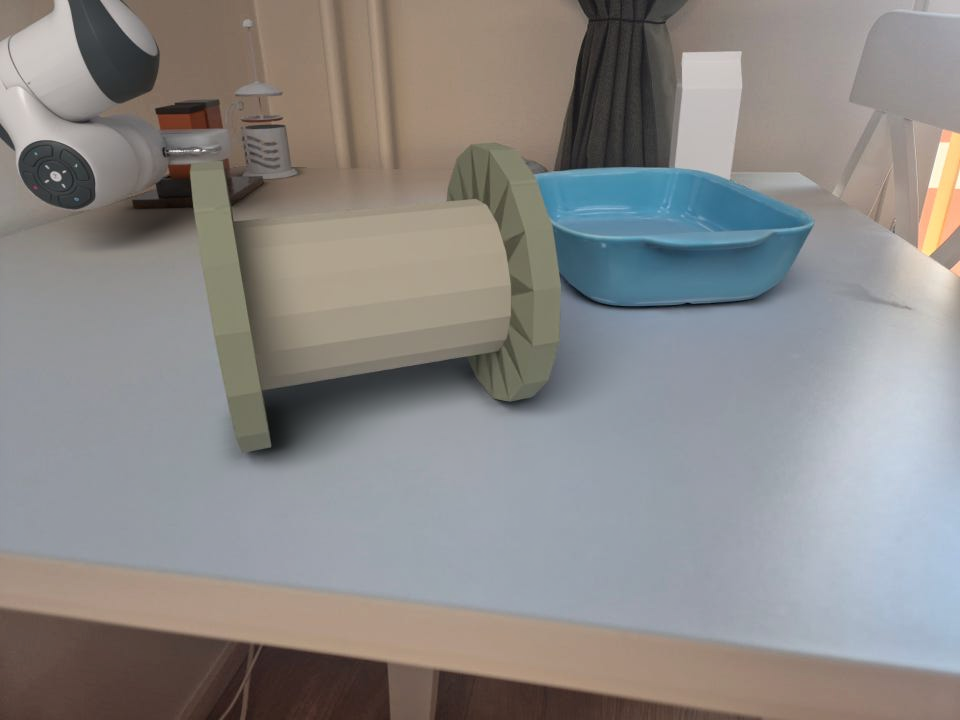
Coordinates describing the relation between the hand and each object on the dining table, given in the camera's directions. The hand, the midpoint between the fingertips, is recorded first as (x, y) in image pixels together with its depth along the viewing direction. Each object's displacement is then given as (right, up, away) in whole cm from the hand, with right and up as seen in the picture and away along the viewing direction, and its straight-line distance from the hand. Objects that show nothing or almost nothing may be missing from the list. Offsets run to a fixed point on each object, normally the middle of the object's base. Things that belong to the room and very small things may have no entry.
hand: (170, 139), depth 94 cm
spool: (+37, -34, -52) cm, 72 cm away
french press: (+4, +3, +28) cm, 28 cm away
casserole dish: (+59, -21, -25) cm, 68 cm away
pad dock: (0, -5, +11) cm, 12 cm away
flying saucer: (+47, -4, +11) cm, 48 cm away
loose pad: (0, -5, +8) cm, 10 cm away
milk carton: (+72, -10, -2) cm, 73 cm away
